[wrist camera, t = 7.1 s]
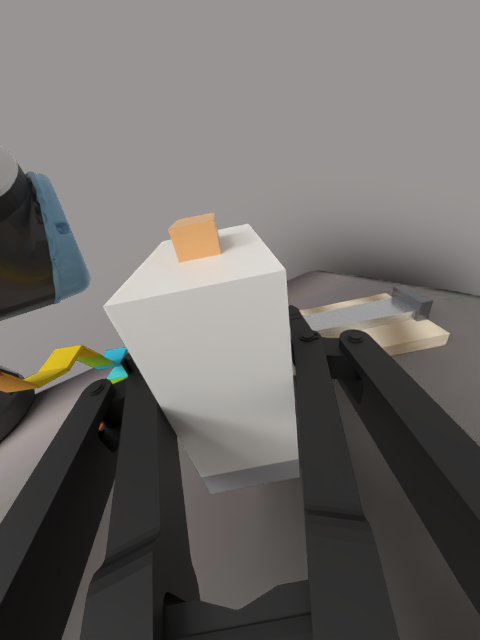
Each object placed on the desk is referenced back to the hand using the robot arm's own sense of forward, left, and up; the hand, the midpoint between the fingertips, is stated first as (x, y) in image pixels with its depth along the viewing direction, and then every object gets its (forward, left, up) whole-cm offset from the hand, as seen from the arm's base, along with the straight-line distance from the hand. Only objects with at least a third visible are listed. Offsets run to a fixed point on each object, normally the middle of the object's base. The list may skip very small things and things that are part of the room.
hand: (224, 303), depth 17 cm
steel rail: (+8, +9, -9) cm, 15 cm away
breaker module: (+1, -5, -7) cm, 8 cm away
